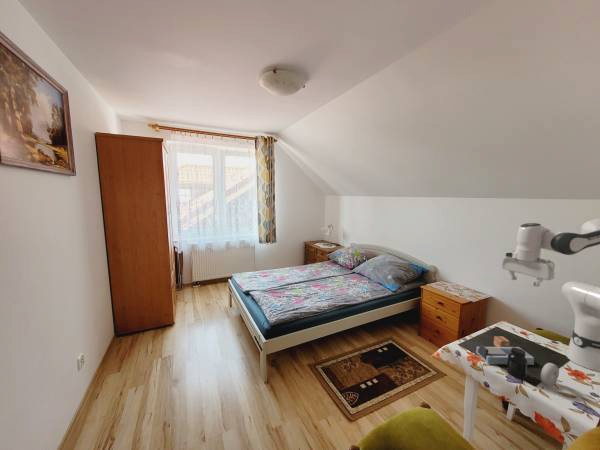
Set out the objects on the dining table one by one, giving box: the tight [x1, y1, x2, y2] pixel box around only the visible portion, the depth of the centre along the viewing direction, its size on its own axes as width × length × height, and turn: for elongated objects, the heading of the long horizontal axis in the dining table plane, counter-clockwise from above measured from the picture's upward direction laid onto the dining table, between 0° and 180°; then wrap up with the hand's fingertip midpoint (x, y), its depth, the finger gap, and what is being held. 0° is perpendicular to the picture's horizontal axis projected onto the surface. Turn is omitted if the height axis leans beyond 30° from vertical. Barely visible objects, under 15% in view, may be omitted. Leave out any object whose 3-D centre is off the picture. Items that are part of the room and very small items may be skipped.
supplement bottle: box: [506, 346, 528, 380], centre depth 110 cm, size 7×7×12 cm
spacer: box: [493, 335, 510, 347], centre depth 131 cm, size 4×4×5 cm
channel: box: [475, 346, 535, 366], centre depth 122 cm, size 22×9×4 cm, turn 87°
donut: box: [540, 362, 560, 387], centre depth 104 cm, size 10×4×10 cm, turn 114°
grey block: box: [478, 344, 506, 359], centre depth 122 cm, size 10×4×5 cm, turn 87°
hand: (524, 282), depth 118 cm, fingers open, 8 cm apart
